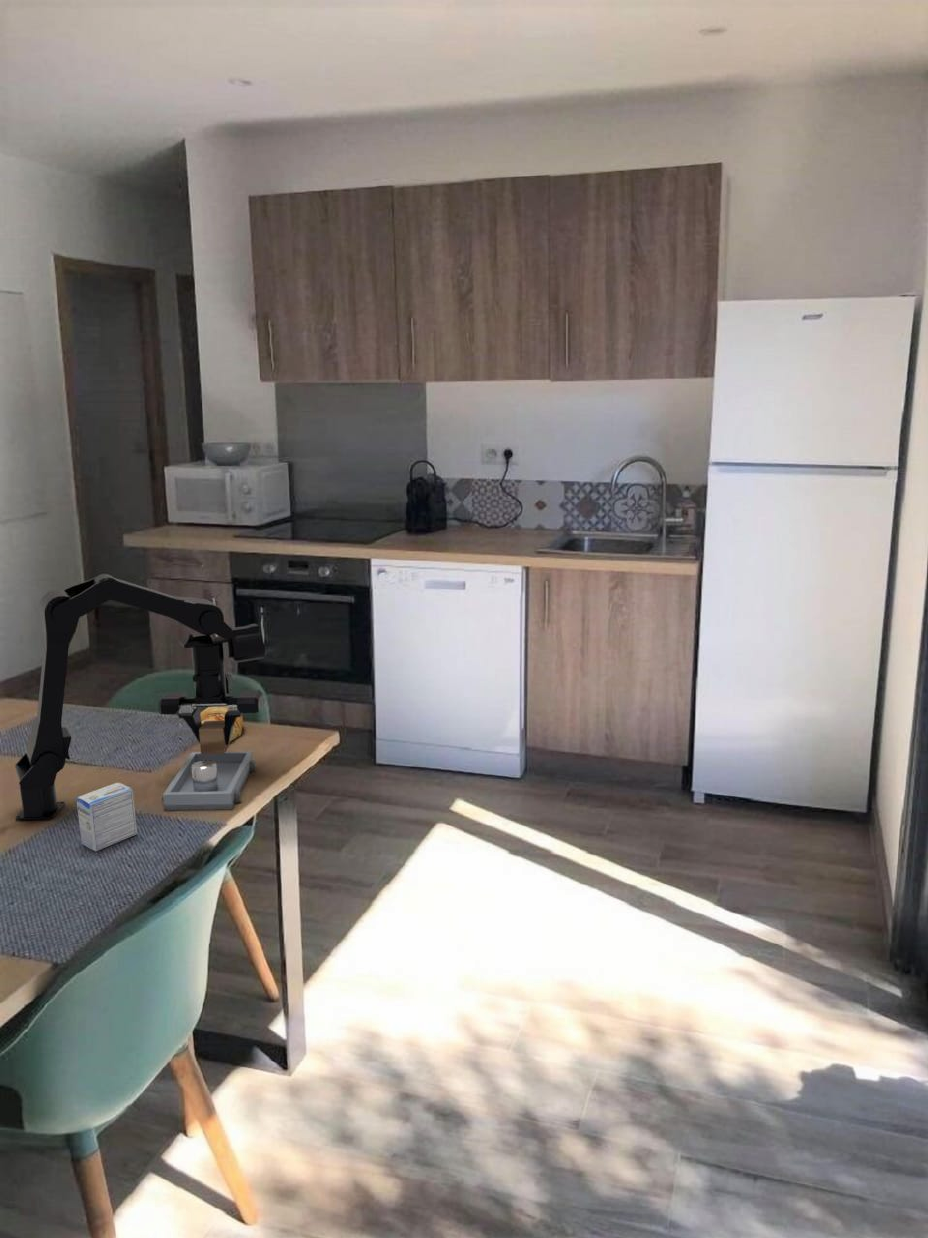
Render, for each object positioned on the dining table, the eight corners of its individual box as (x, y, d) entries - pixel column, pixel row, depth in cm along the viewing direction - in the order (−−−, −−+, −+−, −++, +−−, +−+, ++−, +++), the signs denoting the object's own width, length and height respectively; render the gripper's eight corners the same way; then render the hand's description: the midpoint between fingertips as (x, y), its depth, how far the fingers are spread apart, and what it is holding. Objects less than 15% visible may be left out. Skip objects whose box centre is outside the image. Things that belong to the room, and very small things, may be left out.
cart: (237, 809, 177) (236, 793, 176) (158, 810, 177) (157, 795, 176) (258, 765, 197) (257, 750, 196) (188, 766, 197) (186, 752, 196)
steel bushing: (215, 795, 181) (213, 769, 179) (191, 795, 181) (188, 770, 179) (220, 785, 185) (218, 760, 184) (197, 785, 185) (194, 760, 184)
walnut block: (224, 753, 189) (222, 728, 187) (201, 754, 189) (198, 729, 187) (230, 744, 193) (228, 720, 192) (206, 745, 193) (204, 720, 192)
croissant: (223, 768, 204) (239, 736, 202) (178, 748, 203) (193, 715, 201) (243, 729, 225) (257, 700, 223) (202, 711, 223) (216, 681, 221)
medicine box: (123, 828, 171) (118, 781, 169) (138, 835, 168) (133, 787, 166) (81, 845, 165) (75, 797, 163) (95, 853, 162) (89, 804, 160)
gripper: (266, 653, 195) (271, 728, 198) (171, 655, 194) (177, 730, 198) (255, 670, 184) (260, 749, 188) (154, 672, 184) (161, 751, 188)
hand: (215, 744), depth 191 cm, fingers closed on walnut block, 4 cm apart
